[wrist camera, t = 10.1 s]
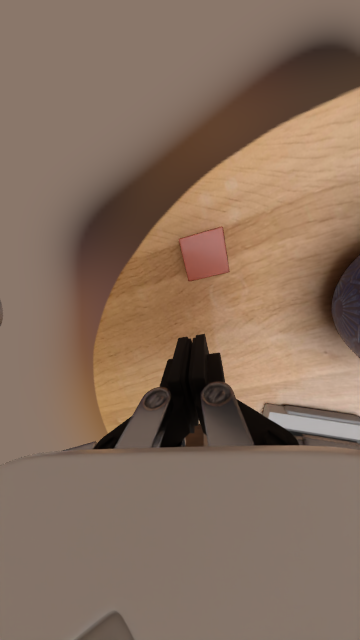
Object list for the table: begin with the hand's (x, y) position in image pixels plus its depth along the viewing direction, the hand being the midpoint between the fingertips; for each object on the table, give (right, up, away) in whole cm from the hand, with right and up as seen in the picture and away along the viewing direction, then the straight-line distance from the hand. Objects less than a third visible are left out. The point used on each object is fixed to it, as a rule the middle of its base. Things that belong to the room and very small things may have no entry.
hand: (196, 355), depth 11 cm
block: (+2, +11, +11) cm, 15 cm away
